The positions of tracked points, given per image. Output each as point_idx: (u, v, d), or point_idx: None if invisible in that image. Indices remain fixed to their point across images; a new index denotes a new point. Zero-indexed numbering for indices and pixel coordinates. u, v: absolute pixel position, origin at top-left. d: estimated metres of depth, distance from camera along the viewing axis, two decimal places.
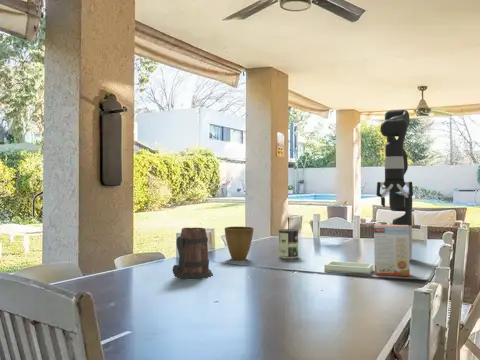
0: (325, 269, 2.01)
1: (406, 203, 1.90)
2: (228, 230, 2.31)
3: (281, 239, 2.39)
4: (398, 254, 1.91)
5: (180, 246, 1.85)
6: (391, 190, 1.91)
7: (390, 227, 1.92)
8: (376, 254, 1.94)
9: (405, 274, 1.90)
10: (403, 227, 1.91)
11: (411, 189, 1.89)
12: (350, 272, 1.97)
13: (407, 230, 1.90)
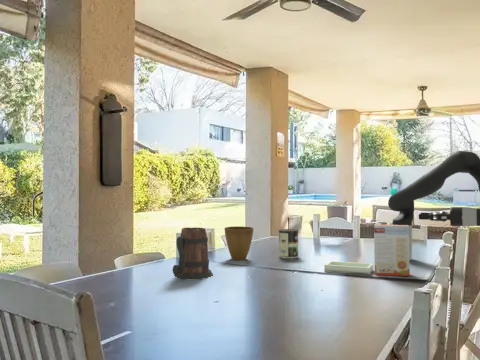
0: (325, 269, 2.01)
1: None
2: (228, 230, 2.31)
3: (281, 239, 2.39)
4: (398, 254, 1.91)
5: (180, 246, 1.85)
6: None
7: (390, 227, 1.92)
8: (376, 254, 1.94)
9: (405, 274, 1.90)
10: (403, 227, 1.91)
11: None
12: (350, 272, 1.97)
13: (407, 230, 1.90)
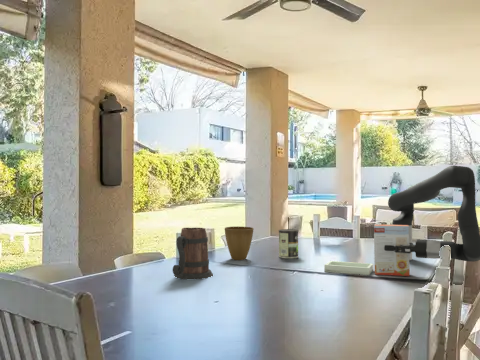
0: (325, 269, 2.01)
1: None
2: (228, 230, 2.31)
3: (281, 239, 2.39)
4: (398, 254, 1.91)
5: (180, 246, 1.85)
6: None
7: (390, 227, 1.92)
8: (376, 254, 1.94)
9: (405, 274, 1.90)
10: (403, 227, 1.91)
11: None
12: (350, 272, 1.97)
13: (407, 230, 1.90)
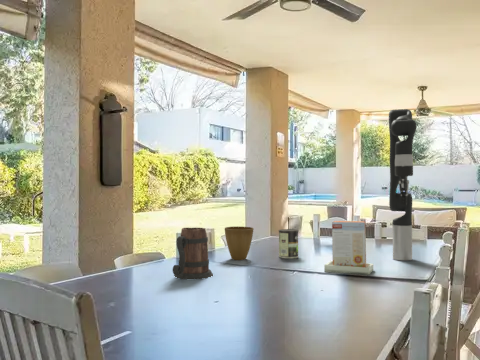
0: (325, 269, 2.01)
1: (406, 201, 2.03)
2: (228, 230, 2.31)
3: (281, 239, 2.39)
4: (354, 249, 1.99)
5: (180, 246, 1.85)
6: None
7: (347, 223, 2.00)
8: (334, 249, 2.02)
9: None
10: (359, 223, 1.98)
11: None
12: (350, 272, 1.97)
13: (363, 226, 1.98)
